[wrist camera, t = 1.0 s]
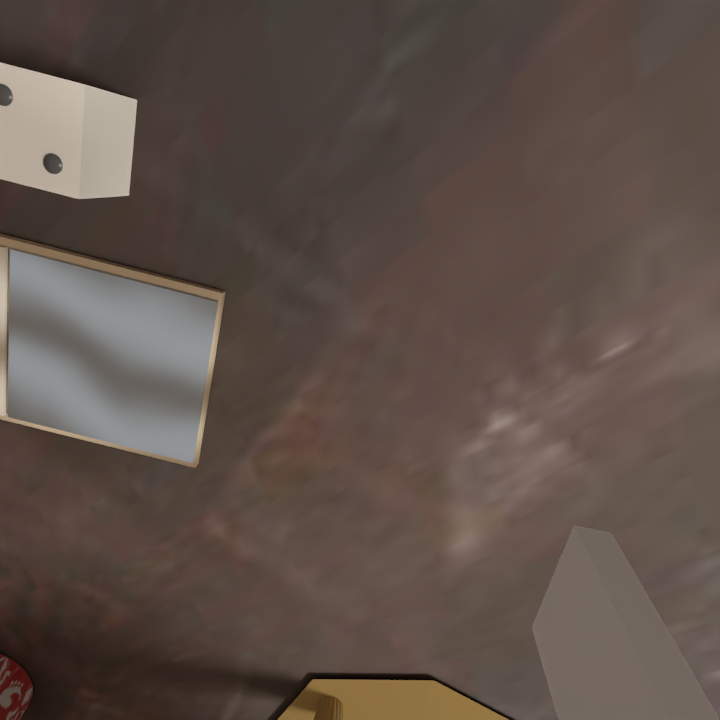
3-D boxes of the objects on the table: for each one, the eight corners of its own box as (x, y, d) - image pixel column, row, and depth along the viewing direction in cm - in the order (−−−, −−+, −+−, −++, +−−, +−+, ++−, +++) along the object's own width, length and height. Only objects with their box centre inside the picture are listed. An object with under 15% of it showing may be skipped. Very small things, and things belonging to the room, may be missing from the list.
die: (46, 76, 28) (-27, 55, 23) (137, 100, 28) (84, 84, 23) (43, 173, 29) (-26, 172, 25) (129, 195, 30) (78, 199, 25)
